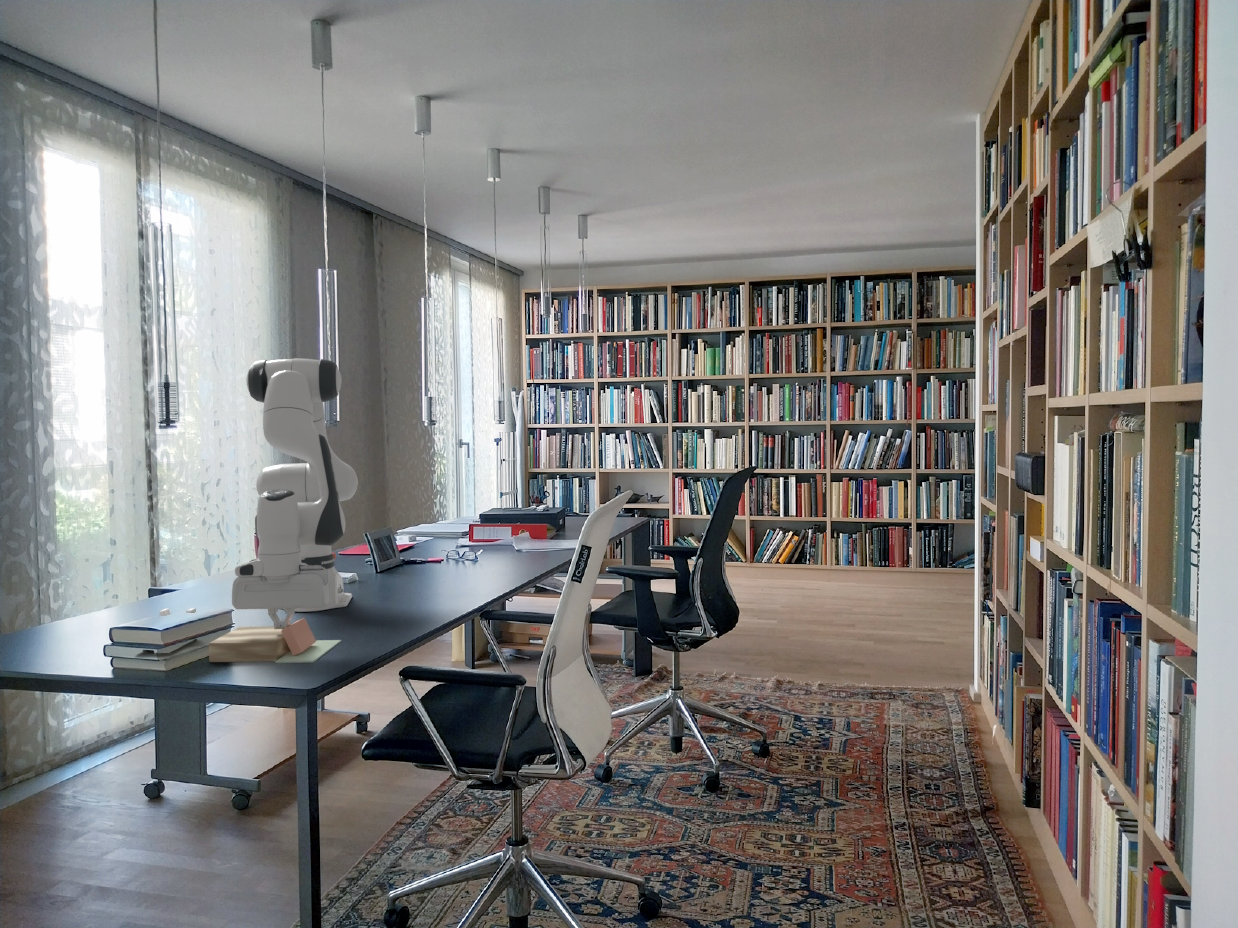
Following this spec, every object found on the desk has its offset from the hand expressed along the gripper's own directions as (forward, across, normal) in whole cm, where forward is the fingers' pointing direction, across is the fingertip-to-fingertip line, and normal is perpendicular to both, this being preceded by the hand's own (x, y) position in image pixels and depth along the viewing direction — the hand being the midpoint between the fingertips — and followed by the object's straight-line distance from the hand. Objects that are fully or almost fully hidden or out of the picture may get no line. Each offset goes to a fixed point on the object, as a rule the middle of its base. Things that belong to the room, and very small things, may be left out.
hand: (282, 628), depth 196 cm
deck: (+5, +6, 0) cm, 8 cm away
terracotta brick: (+2, -3, 0) cm, 3 cm away
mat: (+5, -6, 0) cm, 8 cm away
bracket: (+6, +29, -7) cm, 30 cm away
